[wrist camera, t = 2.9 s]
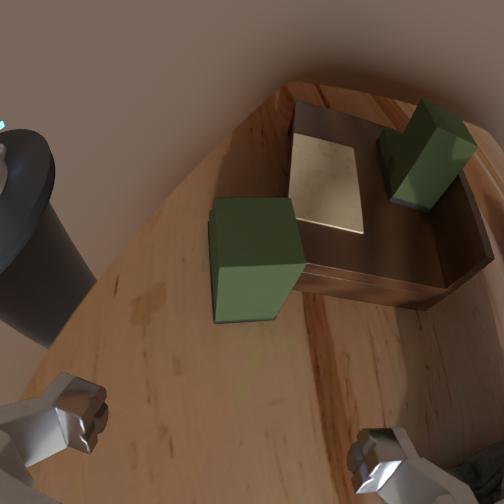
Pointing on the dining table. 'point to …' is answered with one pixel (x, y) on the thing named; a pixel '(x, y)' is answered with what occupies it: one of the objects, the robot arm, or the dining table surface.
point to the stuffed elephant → (483, 474)
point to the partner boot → (424, 156)
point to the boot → (252, 257)
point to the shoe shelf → (374, 219)
